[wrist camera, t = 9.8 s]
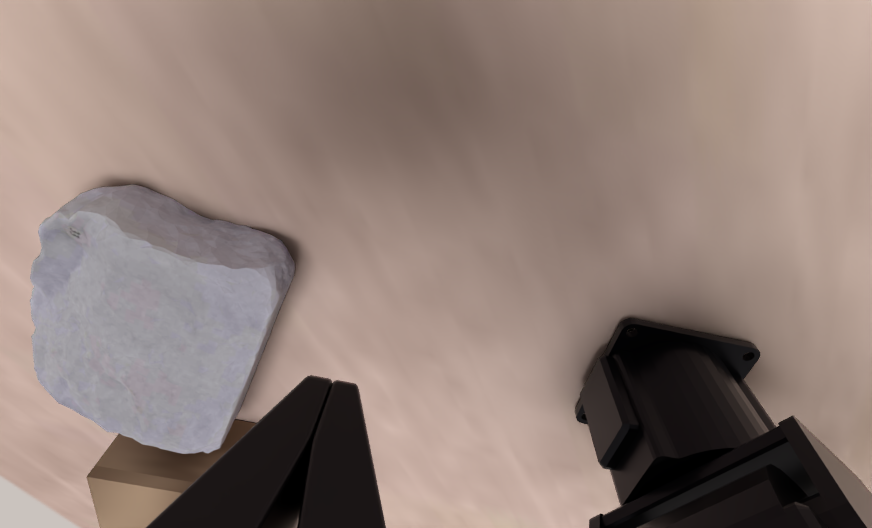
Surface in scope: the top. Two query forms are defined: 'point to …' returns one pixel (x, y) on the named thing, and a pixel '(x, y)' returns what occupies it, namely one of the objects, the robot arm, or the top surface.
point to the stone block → (153, 314)
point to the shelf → (147, 478)
